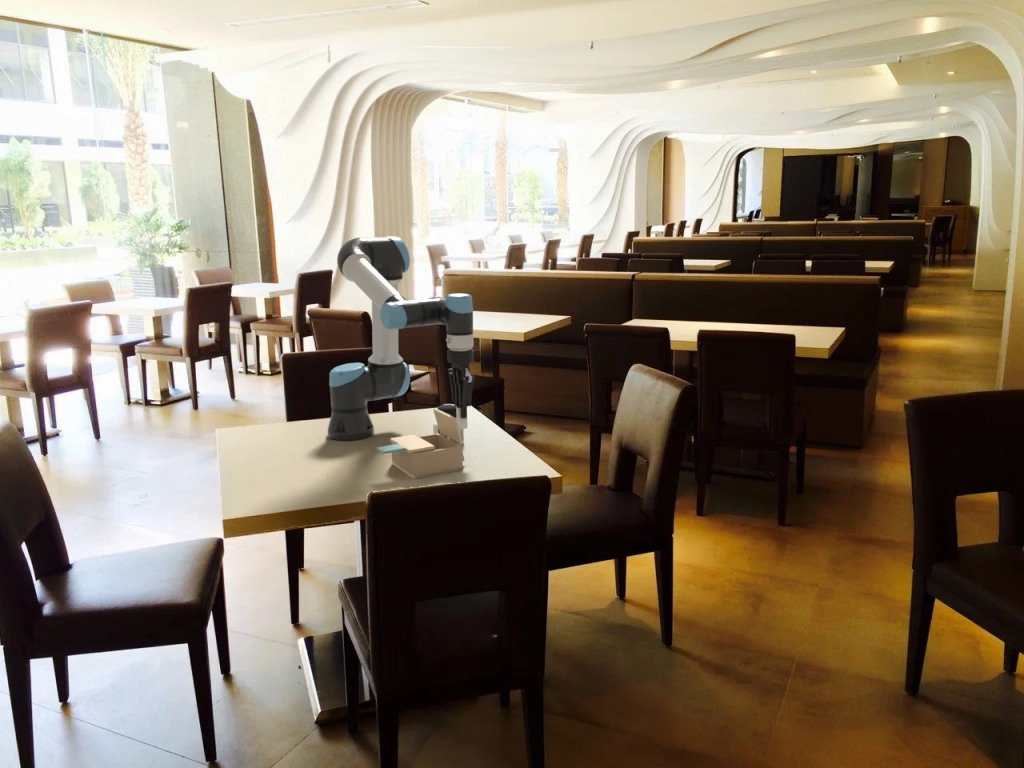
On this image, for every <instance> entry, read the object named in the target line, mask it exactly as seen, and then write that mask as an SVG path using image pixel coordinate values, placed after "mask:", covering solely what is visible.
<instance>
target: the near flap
mask: <svg viewBox="0 0 1024 768" xmlns="http://www.w3.org/2000/svg"><path fill="white" fill-rule="evenodd" d="M389 441H390V443H391V442H393V443H394V445H391V444H389V445H384V446H377V447H376V451H377V452H379V453H380V454H382V455H383V456H384V455H388V454H392V453H395V452H401V451H407V452H408V453H413V452H419V451H424V450H430V449H435V447H434V445H432V444H430V443H428V442H427V441H425V440H423V439H421V438H420V437H418V435H416V434H410V435H408V434H407V435H404V436H396V437H391V438H389Z"/></svg>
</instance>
